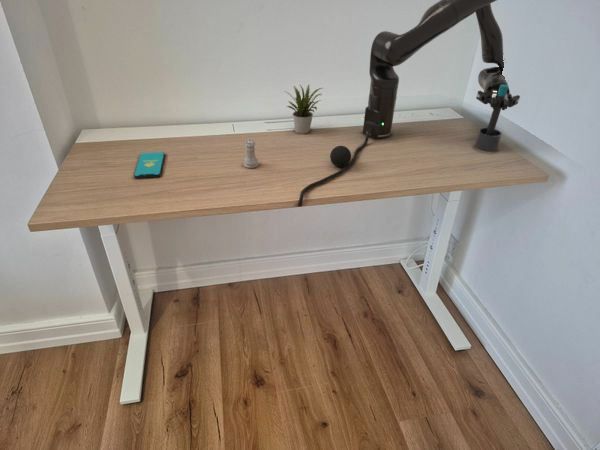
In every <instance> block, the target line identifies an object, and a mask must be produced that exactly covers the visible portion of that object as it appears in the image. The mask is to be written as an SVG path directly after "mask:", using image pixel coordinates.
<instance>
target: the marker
mask: <svg viewBox="0 0 600 450" xmlns="http://www.w3.org/2000/svg"><path fill="white" fill-rule="evenodd" d="M508 87H509V84H508V85H500V88H499V91H498V96H497V99H496V100H497V105H496V108H495V109H493V108H492V113H491V116H490V119H489V123H488V126H487V127H486V128H487V132H486V135H490V136H493V133H494V130H495V129H496V126H497V125H498V120H499V117H500V114H501V111H502V104H503V101H504V98H505V96H506V93H507V90H508Z"/></svg>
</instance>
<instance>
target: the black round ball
mask: <svg viewBox="0 0 600 450" xmlns="http://www.w3.org/2000/svg"><path fill="white" fill-rule="evenodd" d="M329 159H330V162H331V163H332V164H333V166H335V167H338V168H344V167H346V166H347V165H348V164H349V163H350V162H351V160H352V153H351V150H350V149H349V148H348V147H347V146H345V145H337V146H335V147H333V148H332V150H331V151H330V153H329Z"/></svg>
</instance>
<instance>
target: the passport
mask: <svg viewBox="0 0 600 450" xmlns="http://www.w3.org/2000/svg"><path fill="white" fill-rule="evenodd" d="M164 159H165V152H164V151H160V152H159V151H157V152H142V153H140V154H139V158H138V160H137V165H136V168H135V171H134V174H133V176H134V178H136V179H141V178H143V179H144V178H157V177H160V176H161V173H162V169H163V165H164Z"/></svg>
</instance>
